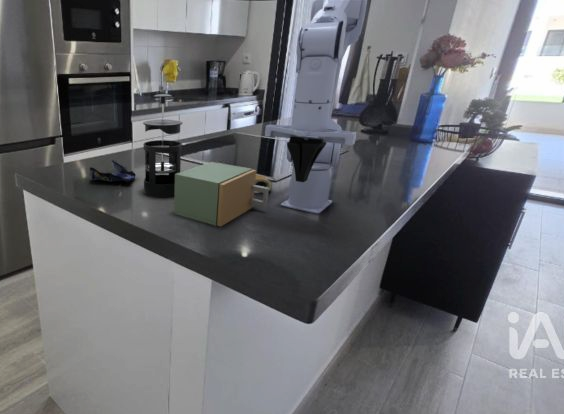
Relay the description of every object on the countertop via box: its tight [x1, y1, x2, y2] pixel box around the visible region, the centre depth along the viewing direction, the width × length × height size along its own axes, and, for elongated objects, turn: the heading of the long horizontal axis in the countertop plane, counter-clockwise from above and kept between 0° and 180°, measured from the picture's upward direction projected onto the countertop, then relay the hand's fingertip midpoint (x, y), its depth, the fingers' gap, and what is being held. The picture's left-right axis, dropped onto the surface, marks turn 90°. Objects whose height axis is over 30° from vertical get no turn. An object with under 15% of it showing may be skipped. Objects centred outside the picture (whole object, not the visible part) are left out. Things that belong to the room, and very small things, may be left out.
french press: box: [142, 93, 183, 199], centre depth 89 cm, size 12×9×23 cm
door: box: [216, 169, 270, 228], centre depth 75 cm, size 4×14×8 cm, turn 139°
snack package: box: [88, 159, 137, 187], centre depth 102 cm, size 12×6×12 cm
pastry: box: [254, 174, 273, 195], centre depth 95 cm, size 9×7×4 cm
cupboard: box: [173, 161, 253, 227], centre depth 79 cm, size 10×14×9 cm
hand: (301, 180), depth 68 cm, fingers closed
